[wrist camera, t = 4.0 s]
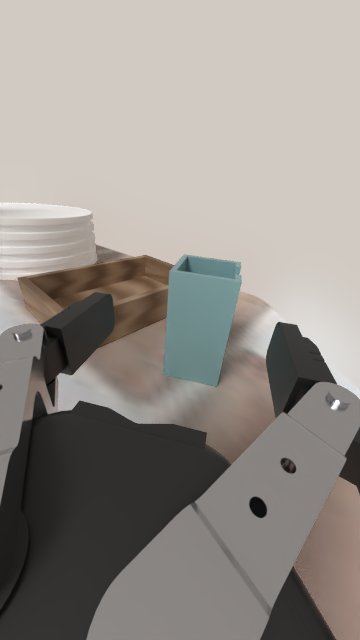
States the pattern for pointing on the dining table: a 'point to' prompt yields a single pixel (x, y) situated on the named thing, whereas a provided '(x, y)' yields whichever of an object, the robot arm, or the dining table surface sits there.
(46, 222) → the plate stack
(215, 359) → the teal open box
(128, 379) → the dining table surface
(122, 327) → the tray
